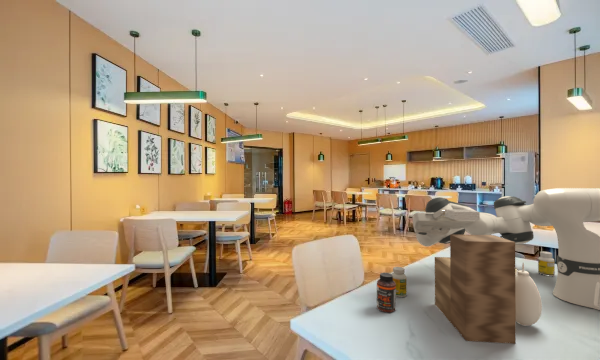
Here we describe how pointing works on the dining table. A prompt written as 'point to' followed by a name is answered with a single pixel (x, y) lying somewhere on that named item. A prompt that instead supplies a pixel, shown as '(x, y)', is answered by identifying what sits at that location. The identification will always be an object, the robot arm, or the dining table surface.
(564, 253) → the robot arm
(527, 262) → the dining table surface
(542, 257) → the supplement bottle
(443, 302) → the stepped stand
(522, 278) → the sauce bottle
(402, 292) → the supplement bottle
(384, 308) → the supplement bottle
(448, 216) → the lever cap
